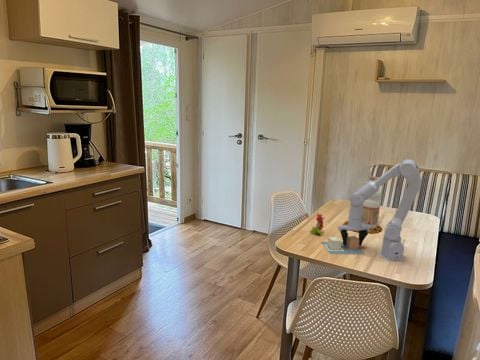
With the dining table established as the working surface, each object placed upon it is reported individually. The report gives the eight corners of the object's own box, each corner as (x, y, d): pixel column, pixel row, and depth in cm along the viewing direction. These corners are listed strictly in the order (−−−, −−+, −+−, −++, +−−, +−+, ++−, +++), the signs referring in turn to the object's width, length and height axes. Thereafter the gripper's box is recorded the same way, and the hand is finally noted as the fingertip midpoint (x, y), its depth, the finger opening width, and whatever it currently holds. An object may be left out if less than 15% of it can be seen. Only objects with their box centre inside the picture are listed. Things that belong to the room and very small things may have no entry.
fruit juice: (358, 227, 199) (364, 177, 193) (360, 222, 207) (366, 174, 201) (376, 230, 195) (383, 179, 189) (377, 224, 204) (383, 176, 198)
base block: (340, 249, 165) (341, 240, 164) (330, 249, 165) (331, 240, 164) (336, 245, 170) (337, 236, 169) (327, 245, 169) (328, 236, 168)
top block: (358, 249, 167) (359, 239, 166) (348, 248, 167) (350, 239, 166) (354, 245, 171) (355, 236, 170) (345, 245, 171) (346, 236, 170)
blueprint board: (364, 255, 162) (365, 254, 161) (330, 255, 160) (330, 253, 160) (352, 243, 175) (353, 241, 175) (320, 243, 174) (321, 241, 174)
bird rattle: (312, 235, 189) (308, 233, 181) (316, 214, 191) (312, 212, 183) (324, 237, 187) (320, 236, 179) (328, 216, 188) (325, 214, 180)
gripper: (366, 215, 170) (363, 242, 173) (337, 214, 169) (334, 241, 172) (373, 220, 163) (369, 247, 166) (342, 219, 162) (339, 247, 165)
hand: (352, 245), depth 169 cm, fingers open, 7 cm apart
